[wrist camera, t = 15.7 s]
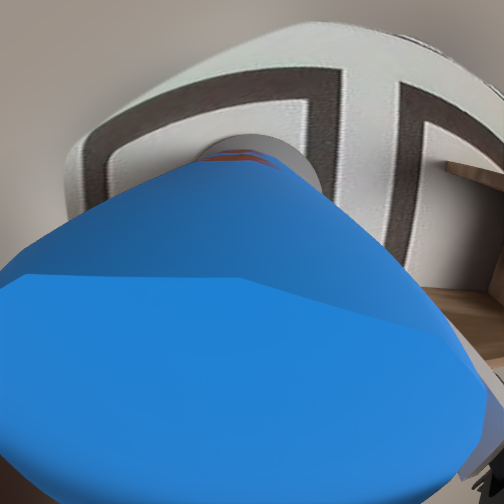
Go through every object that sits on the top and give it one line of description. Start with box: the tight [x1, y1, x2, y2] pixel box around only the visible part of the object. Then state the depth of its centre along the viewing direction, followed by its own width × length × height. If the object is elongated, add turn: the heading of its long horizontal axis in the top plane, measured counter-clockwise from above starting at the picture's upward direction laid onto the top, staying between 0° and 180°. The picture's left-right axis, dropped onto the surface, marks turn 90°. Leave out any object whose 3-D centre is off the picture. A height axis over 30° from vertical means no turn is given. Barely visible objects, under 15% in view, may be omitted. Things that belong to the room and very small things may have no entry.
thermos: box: [0, 149, 487, 504], centre depth 15 cm, size 11×11×25 cm
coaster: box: [197, 134, 322, 193], centre depth 27 cm, size 13×13×1 cm
